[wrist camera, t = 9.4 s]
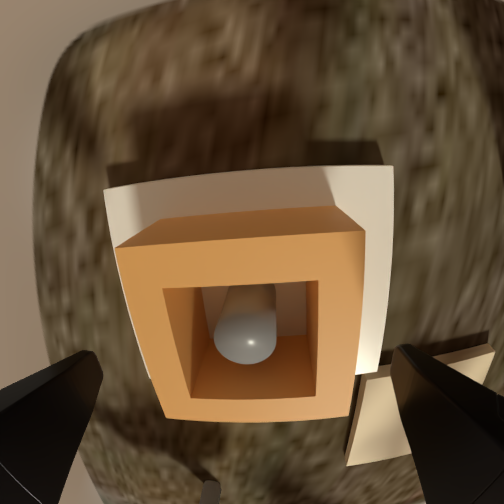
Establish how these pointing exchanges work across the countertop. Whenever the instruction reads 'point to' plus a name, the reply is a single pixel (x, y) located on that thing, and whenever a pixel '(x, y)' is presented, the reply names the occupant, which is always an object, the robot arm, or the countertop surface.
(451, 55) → the countertop surface
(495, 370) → the countertop surface
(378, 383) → the stand
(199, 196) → the hub board
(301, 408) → the collar
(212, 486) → the mechanical component
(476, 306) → the countertop surface
